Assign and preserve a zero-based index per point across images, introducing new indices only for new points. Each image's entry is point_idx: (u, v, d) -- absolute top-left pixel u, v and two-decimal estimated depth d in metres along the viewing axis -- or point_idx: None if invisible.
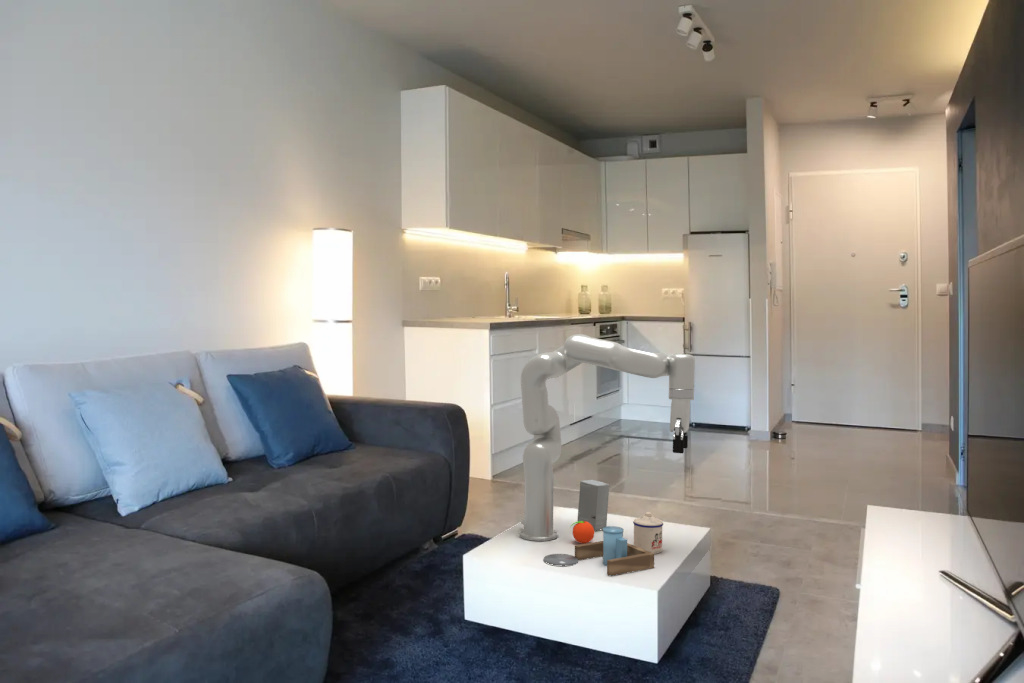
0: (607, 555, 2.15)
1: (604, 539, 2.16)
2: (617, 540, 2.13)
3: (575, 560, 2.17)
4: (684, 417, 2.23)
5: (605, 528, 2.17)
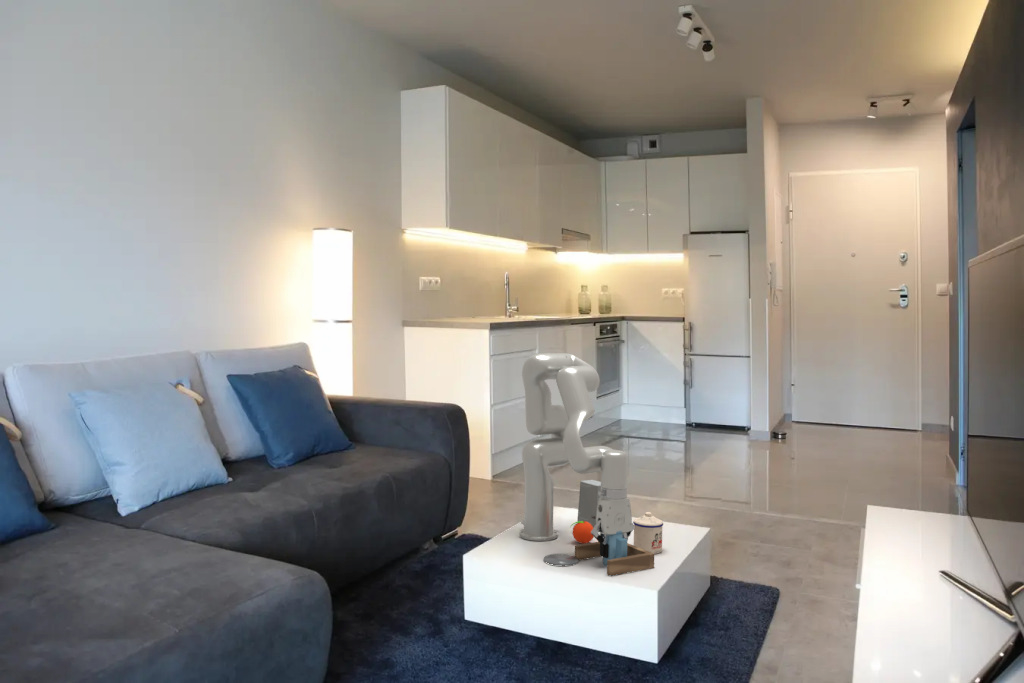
0: None
1: None
2: (617, 540, 2.13)
3: (575, 560, 2.17)
4: None
5: None
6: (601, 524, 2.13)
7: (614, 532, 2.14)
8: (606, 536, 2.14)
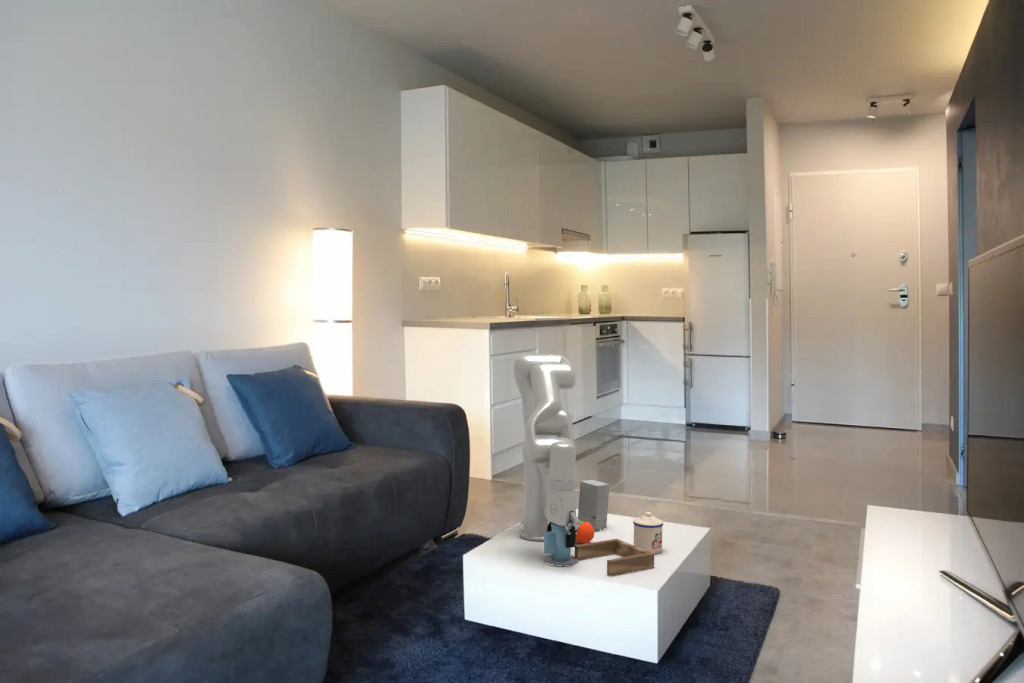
0: None
1: None
2: None
3: (575, 560, 2.17)
4: (575, 509, 2.15)
5: None
6: None
7: (550, 520, 2.18)
8: None
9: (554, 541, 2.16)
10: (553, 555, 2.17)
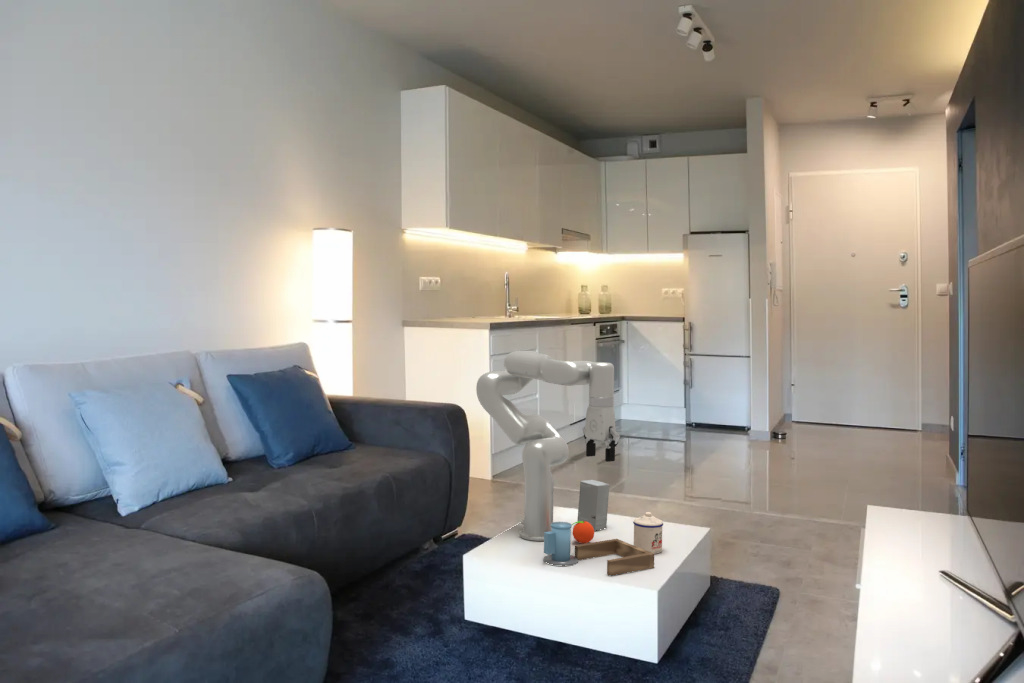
0: None
1: None
2: None
3: (575, 560, 2.17)
4: (614, 425, 2.25)
5: (562, 522, 2.21)
6: None
7: (590, 436, 2.29)
8: None
9: (554, 541, 2.16)
10: (553, 555, 2.17)
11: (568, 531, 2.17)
